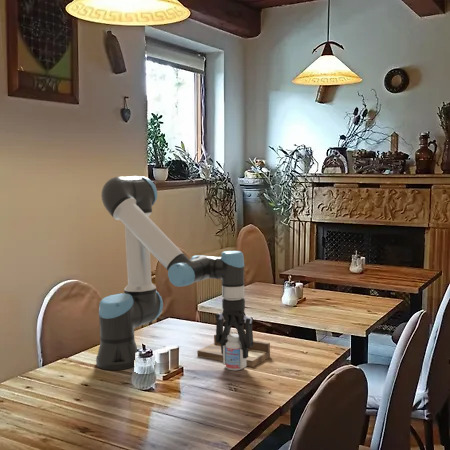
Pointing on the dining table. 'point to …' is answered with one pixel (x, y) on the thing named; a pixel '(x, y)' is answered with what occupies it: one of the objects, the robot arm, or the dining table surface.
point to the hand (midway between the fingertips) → (234, 365)
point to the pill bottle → (233, 352)
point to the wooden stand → (255, 352)
